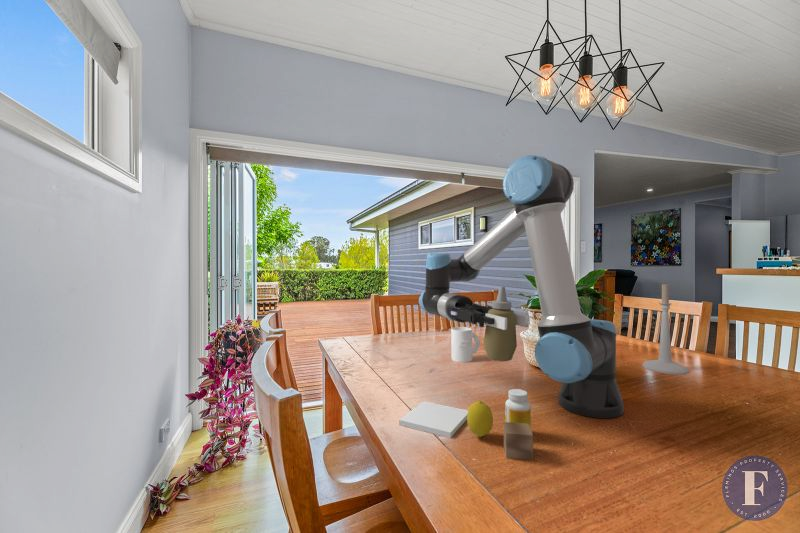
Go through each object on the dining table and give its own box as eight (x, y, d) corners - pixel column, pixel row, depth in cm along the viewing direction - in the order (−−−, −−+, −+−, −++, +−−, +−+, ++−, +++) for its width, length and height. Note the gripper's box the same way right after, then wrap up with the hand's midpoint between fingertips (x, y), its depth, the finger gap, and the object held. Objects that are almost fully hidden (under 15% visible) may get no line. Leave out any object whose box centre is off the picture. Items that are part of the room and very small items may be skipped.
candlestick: (636, 362, 135) (636, 281, 135) (674, 364, 133) (674, 281, 133) (655, 373, 123) (655, 284, 122) (697, 375, 121) (697, 284, 120)
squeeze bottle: (480, 360, 90) (483, 287, 89) (485, 352, 97) (488, 284, 96) (514, 365, 87) (518, 289, 86) (517, 356, 94) (520, 286, 93)
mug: (485, 360, 141) (485, 329, 140) (457, 363, 137) (457, 331, 136) (474, 355, 148) (474, 325, 148) (447, 358, 144) (447, 327, 144)
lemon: (493, 444, 77) (493, 406, 77) (466, 442, 78) (466, 404, 78) (492, 432, 82) (492, 397, 82) (467, 430, 84) (467, 395, 83)
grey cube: (528, 447, 76) (528, 423, 76) (533, 460, 71) (532, 435, 71) (503, 445, 77) (503, 422, 77) (506, 458, 72) (506, 433, 72)
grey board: (470, 415, 91) (470, 410, 91) (450, 437, 80) (450, 432, 80) (423, 405, 98) (423, 401, 98) (398, 424, 86) (398, 419, 86)
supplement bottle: (500, 431, 83) (500, 389, 82) (519, 427, 85) (519, 386, 84) (515, 442, 78) (515, 397, 77) (536, 438, 79) (536, 394, 79)
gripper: (480, 318, 112) (543, 334, 92) (428, 322, 102) (485, 342, 82) (481, 293, 112) (545, 305, 92) (428, 296, 102) (486, 309, 82)
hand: (516, 322), depth 87 cm, fingers closed on squeeze bottle, 6 cm apart
